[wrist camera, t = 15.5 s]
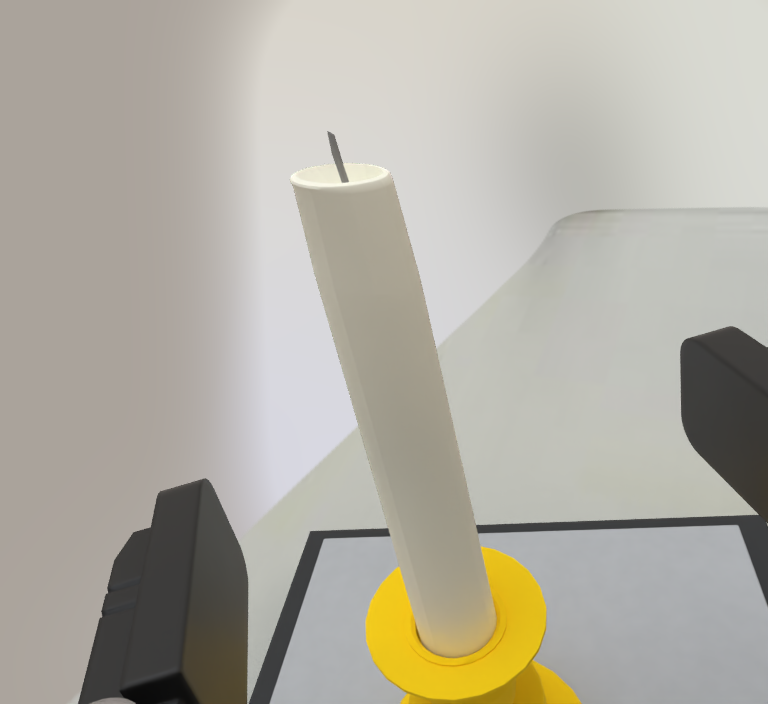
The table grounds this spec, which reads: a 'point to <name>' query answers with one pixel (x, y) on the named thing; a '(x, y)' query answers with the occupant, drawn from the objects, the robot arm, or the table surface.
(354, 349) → the candle
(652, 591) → the kitchen scale
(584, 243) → the table surface
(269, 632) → the table surface
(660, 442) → the table surface
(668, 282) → the table surface
